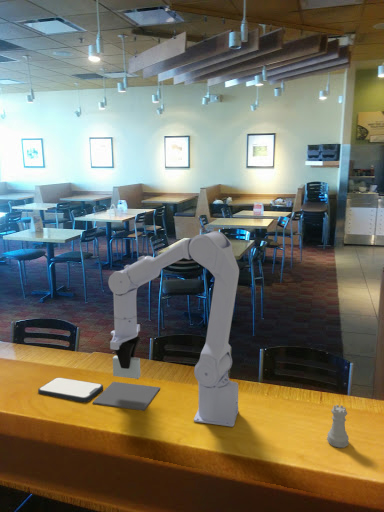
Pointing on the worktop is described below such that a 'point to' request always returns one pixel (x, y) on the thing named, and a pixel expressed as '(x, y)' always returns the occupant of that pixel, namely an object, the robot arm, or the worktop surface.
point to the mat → (127, 396)
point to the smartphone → (71, 389)
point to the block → (129, 373)
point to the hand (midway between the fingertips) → (126, 366)
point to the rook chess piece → (338, 428)
